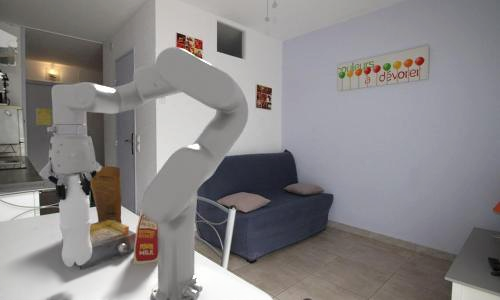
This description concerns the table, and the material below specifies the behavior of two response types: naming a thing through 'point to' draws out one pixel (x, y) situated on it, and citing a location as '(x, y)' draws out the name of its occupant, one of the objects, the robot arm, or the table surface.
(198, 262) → the table surface
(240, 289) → the table surface
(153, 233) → the milk carton
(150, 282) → the table surface
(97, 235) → the gray box with knob
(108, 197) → the pancake mix bag
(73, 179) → the water bottle
